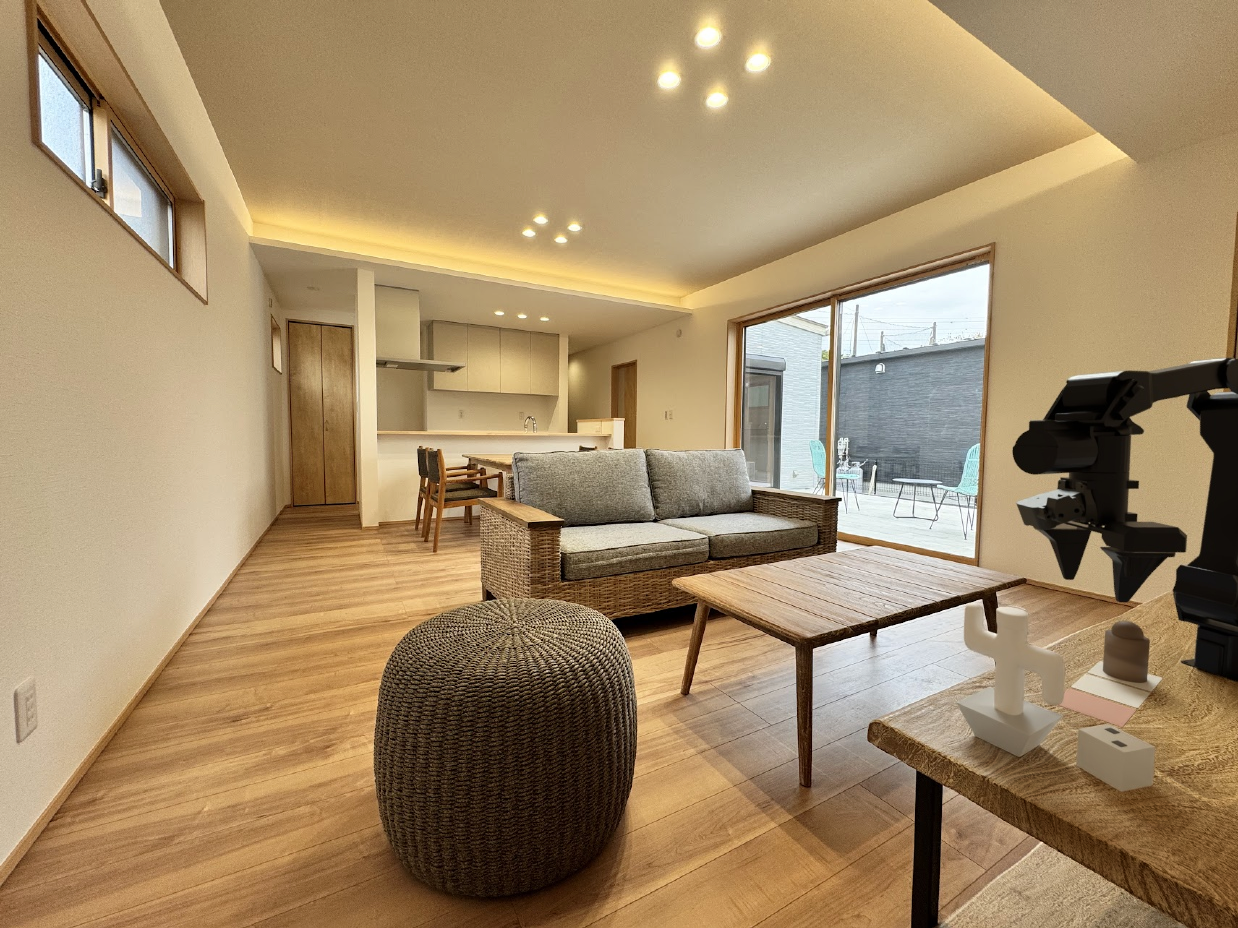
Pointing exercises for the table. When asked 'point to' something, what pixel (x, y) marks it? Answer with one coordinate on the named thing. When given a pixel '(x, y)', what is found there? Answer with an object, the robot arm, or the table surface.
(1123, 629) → the pawn
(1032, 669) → the figurine
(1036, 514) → the robot arm
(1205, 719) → the table surface
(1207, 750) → the table surface
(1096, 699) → the game board
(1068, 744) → the table surface
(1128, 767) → the cream box with slots
